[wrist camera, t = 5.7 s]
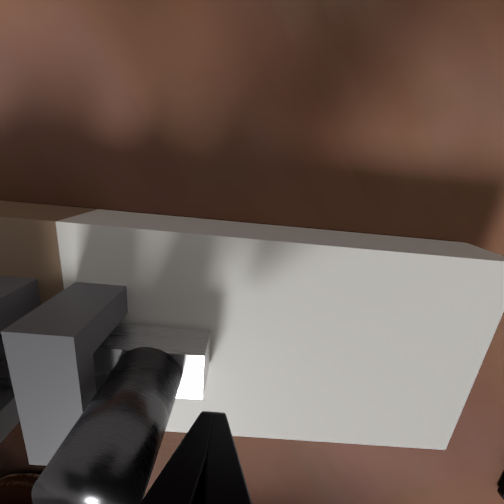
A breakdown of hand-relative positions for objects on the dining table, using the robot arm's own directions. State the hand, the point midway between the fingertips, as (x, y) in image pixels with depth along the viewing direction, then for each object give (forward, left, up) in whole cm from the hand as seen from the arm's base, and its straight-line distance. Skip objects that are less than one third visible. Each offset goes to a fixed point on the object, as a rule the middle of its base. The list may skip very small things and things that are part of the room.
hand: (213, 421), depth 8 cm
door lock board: (+1, 0, -7) cm, 7 cm away
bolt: (+6, 0, -3) cm, 7 cm away
